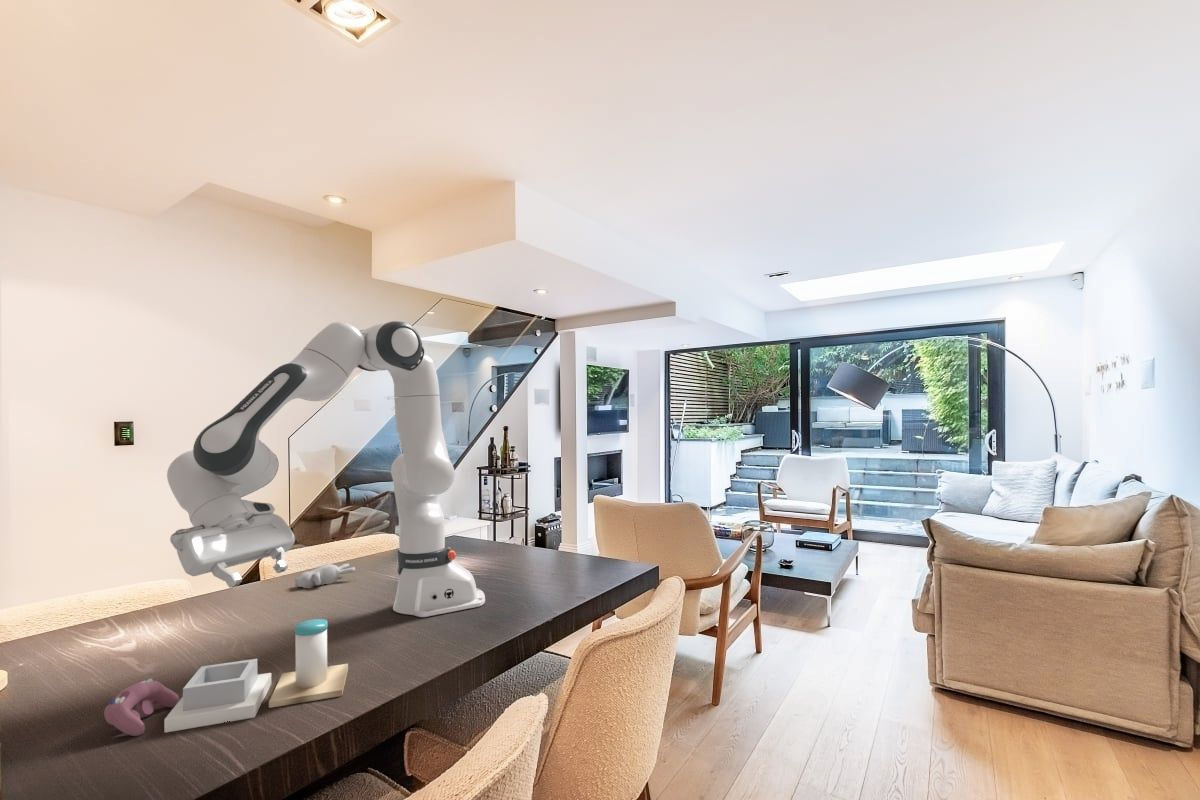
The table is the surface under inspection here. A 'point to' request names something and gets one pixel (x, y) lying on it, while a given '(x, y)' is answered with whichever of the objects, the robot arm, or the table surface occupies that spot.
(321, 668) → the cylinder
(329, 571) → the bunny figurine
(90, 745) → the table surface
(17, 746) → the table surface
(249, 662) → the housing
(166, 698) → the video game controller
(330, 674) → the pad
